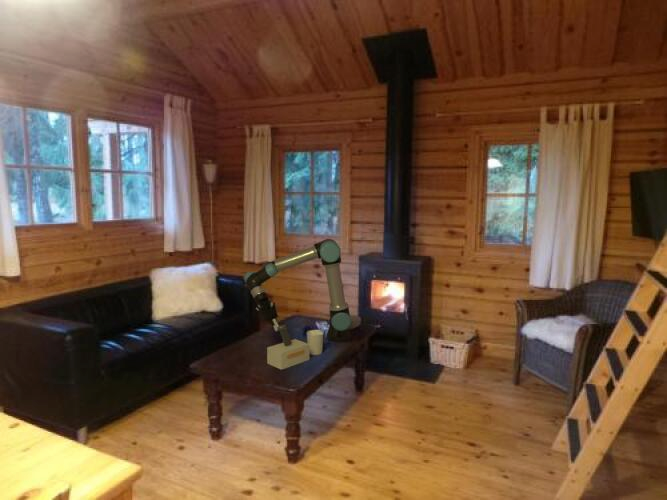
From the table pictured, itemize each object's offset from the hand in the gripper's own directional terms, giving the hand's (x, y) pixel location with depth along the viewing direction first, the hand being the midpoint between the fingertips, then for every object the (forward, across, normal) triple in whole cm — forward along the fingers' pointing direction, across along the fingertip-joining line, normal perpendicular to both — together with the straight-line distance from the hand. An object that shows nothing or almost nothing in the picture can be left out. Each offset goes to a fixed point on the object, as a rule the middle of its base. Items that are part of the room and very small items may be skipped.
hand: (277, 329), depth 258 cm
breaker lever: (+11, 0, +2) cm, 11 cm away
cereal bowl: (+5, -68, -18) cm, 71 cm away
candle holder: (+18, -20, -5) cm, 27 cm away
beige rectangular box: (+18, 0, -5) cm, 18 cm away
